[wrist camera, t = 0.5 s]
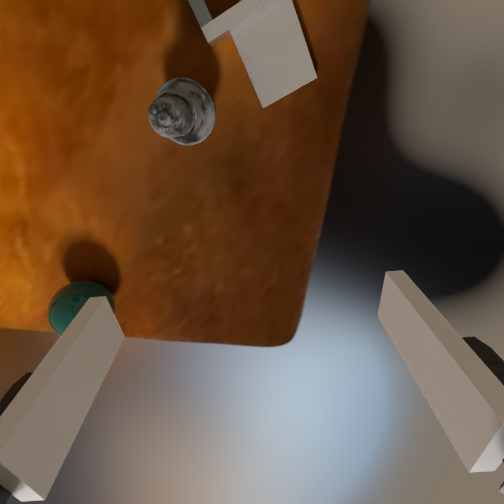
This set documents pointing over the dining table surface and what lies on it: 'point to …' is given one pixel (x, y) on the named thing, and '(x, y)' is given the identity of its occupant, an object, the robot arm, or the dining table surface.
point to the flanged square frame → (263, 44)
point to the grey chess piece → (182, 111)
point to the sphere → (74, 302)
